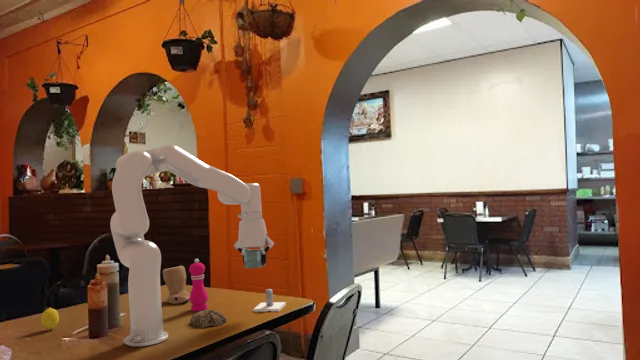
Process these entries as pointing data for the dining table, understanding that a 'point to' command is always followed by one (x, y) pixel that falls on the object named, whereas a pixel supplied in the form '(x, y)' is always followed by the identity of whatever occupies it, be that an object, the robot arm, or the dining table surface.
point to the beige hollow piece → (176, 284)
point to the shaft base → (270, 308)
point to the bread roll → (207, 319)
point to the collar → (253, 258)
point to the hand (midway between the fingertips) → (255, 264)
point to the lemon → (50, 318)
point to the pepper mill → (198, 287)
